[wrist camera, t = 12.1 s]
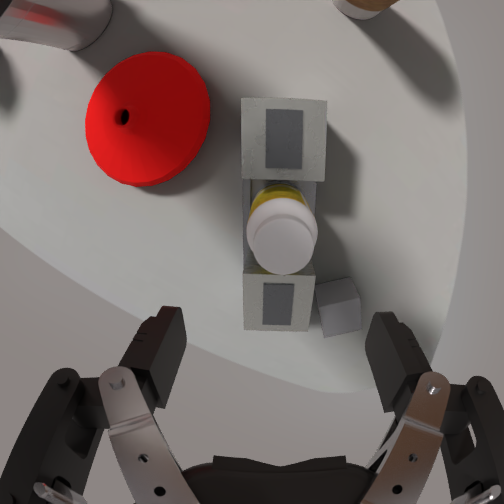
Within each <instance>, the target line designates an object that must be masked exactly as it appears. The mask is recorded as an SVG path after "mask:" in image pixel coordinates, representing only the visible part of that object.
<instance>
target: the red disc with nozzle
mask: <svg viewBox="0 0 504 504" xmlns="http://www.w3.org/2000/svg"><path fill="white" fill-rule="evenodd" d="M209 122H210V99H209V96H208V92H207V89H206V85H205V82H204V81H203V79H202V78H201V76H200V75H199V73H198V72H197V70H196V69H195V68H194V67H193V66H192V65H190V64H189V63H188V62H186V61H185V60H184V59H183V58H181V57H178V56H175V55H173V54H170V53H167V52H145V53H141V54H137V55H133V56H131V57H129V58H127V59H125V60H123V61H121V62H120V63H118V64H117V65H116V66H114V67H113V68H112V69H111V70H110V71H109V72H108V73H106V74H105V76H104V77H103V78H102V80H101V81H100V82H99V84H98V85H97V87H96V88H95V90H94V92H93V94H92V97H91V99H90V101H89V104H88V108H87V113H86V119H85V130H86V139H87V143H88V147H89V150H90V153H91V155H92V156H93V158H94V160H95V162H96V163H97V165H98V166H99V167H100V168H101V169H102V170H103V171H104V172H105V173H106V174H107V175H108V176H109V177H111V178H113V179H115V180H116V181H118V182H120V183H122V184H126V185H131V186H135V187H140V186H153V185H156V184H159V183H162V182H165V181H168V180H169V179H171V178H172V177H174V176H175V175H177V174H178V173H180V172H181V171H183V170H184V169H185V168H186V167H187V165H188V164H189V163H190V162H191V161H192V160H193V159H194V158H195V157H196V155H197V153H198V151H199V149H200V147H201V146H202V144H203V142H204V140H205V138H206V134H207V130H208V126H209Z"/></svg>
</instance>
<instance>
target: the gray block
mask: <svg viewBox="0 0 504 504" xmlns="http://www.w3.org/2000/svg"><path fill="white" fill-rule="evenodd" d="M314 289H315V294H316V299H317V305H318V310H319V316H320V320H321V325H322V330H323V335H324V338H326V337H330V336H335V335H339V334H343V333H348V332H352V331H356V330H360V329H362V319H361V303H360V296H359V294H358V292H357V290H356V288H355V285H354V283H353V281H352V279H351V277H348V278H344V279H339V280H335V281H331V282H326V283H322V284H317V285H315V286H314Z"/></svg>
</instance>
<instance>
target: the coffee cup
mask: <svg viewBox="0 0 504 504" xmlns="http://www.w3.org/2000/svg"><path fill="white" fill-rule="evenodd" d="M332 1H333V3H334V4H335V6H336V7H337V8H338V9H339V10H340V11H341V12H342V13H344V14H345V15H347V16H349V17H352V18H355V19H360V20H367V19H371V18H373V17H374V16H376V15H377V14H379V13H380V12H381V11H383V10H384V9H386V8H388V7H389V6H391V5H393V4H394V3H396V2H397V1H399V0H332Z"/></svg>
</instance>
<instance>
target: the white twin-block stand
mask: <svg viewBox="0 0 504 504" xmlns="http://www.w3.org/2000/svg"><path fill="white" fill-rule="evenodd" d="M326 132H327V101H322V100H310V99H294V98H241V179H243V254H244V270H243V314H244V330H260V331H308V328H309V322H310V315H311V308H312V301H313V294H314V286H315V278H316V275H315V271H314V267H313V264H312V260H311V259H310V261H309V262H308V264H307V265H306V266H305V267H304V268H302V269H301V270H299V271H297V272H295V273H292V274H287V275H279V274H274V273H271V272H269V271H267V270H265V269H264V268H263V267H262V266H261V265H260V264H259V263H258V262H257V260H256V258H255V256H254V253H253V251H252V250H251V248H250V246H249V244H248V241H247V223H248V219H249V215H250V211H251V207H252V203H253V200H254V198H255V196H256V195H257V193H258V192H259V191H260V190H261V189H262V188H264V187H265V186H267V185H269V184H273V183H287V184H290V185H292V186H294V187H296V188H297V189H298V190H299V191H300V192H301V193H302V194H303V196H304V197H305V199H306V201H307V203H308V205H309V207H310V209H311V211H312V213H313V215H314V217H315V203H316V186H317V181H319V182H324V179H325V160H326Z"/></svg>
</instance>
